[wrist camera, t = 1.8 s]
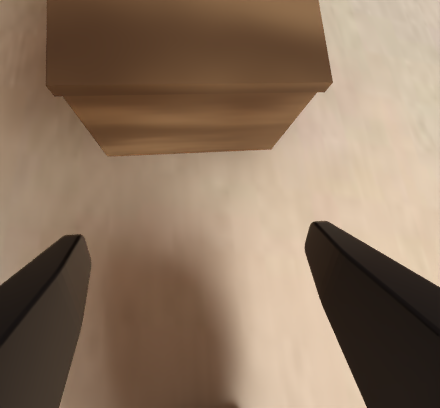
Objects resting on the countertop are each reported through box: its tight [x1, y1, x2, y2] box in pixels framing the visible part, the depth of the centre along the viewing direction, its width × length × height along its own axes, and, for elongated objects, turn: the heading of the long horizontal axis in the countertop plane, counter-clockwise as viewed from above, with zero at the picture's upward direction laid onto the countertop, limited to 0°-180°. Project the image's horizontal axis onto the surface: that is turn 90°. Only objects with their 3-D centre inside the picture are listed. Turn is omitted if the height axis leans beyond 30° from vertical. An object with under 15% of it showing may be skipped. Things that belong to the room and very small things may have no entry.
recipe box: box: [46, 0, 333, 156], centre depth 18 cm, size 16×12×9 cm
